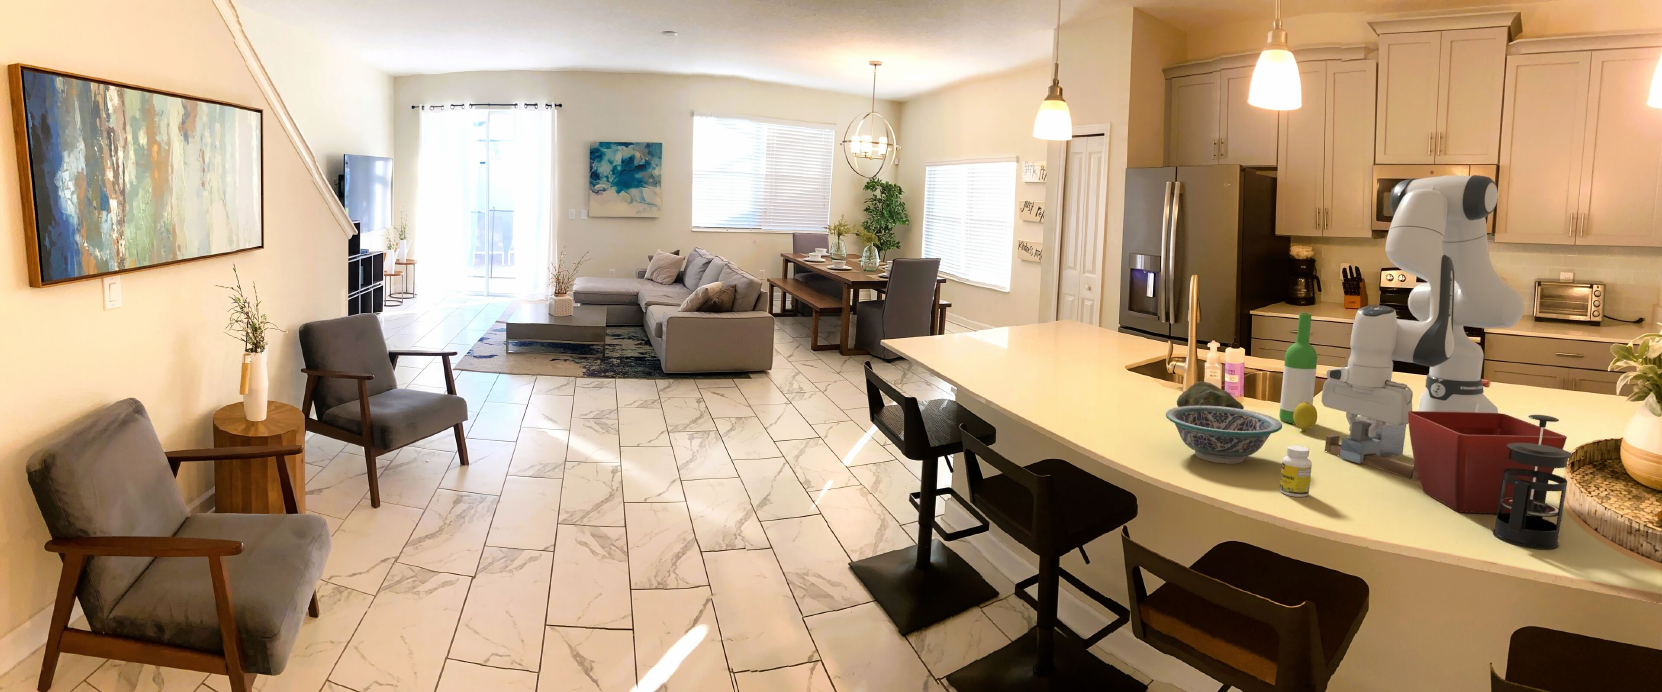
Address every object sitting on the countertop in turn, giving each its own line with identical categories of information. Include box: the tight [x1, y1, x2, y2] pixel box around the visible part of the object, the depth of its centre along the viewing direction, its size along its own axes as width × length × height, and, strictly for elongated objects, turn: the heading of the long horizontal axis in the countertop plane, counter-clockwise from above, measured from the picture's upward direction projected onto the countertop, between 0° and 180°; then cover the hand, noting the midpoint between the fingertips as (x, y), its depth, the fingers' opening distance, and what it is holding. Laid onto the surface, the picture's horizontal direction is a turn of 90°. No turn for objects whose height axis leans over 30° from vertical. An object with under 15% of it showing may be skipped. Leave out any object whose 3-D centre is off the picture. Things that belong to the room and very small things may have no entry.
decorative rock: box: [1176, 380, 1245, 410], centre depth 241 cm, size 15×16×10 cm
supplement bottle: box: [1279, 445, 1313, 498], centre depth 178 cm, size 5×5×10 cm
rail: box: [1324, 434, 1420, 481], centre depth 198 cm, size 3×23×4 cm, turn 21°
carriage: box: [1339, 421, 1381, 464], centre depth 200 cm, size 6×5×9 cm
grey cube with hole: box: [1349, 415, 1407, 458], centre depth 207 cm, size 8×8×8 cm
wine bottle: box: [1279, 312, 1318, 425], centre depth 233 cm, size 8×8×30 cm
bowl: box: [1165, 406, 1283, 465], centre depth 202 cm, size 25×25×10 cm
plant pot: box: [1408, 410, 1568, 515], centre depth 172 cm, size 19×19×17 cm
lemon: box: [1293, 402, 1318, 432], centre depth 226 cm, size 6×6×8 cm
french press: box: [1492, 414, 1573, 551], centre depth 153 cm, size 12×9×23 cm
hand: (1362, 434), depth 200 cm, fingers closed on carriage, 2 cm apart
